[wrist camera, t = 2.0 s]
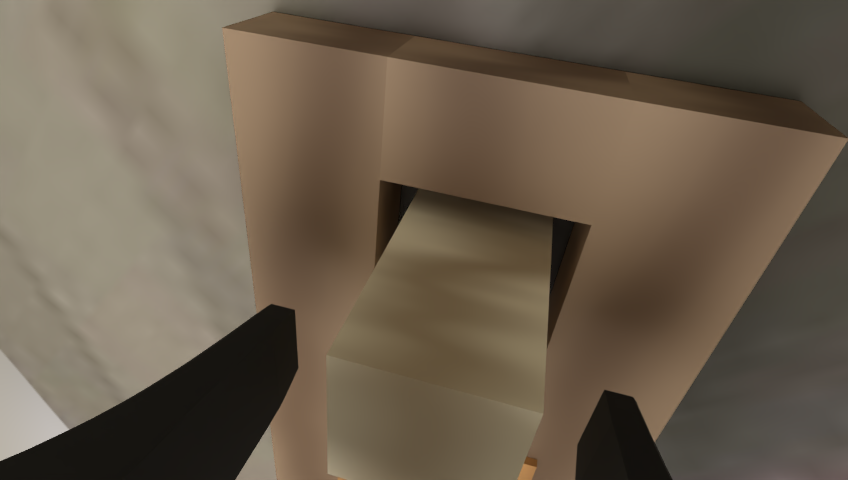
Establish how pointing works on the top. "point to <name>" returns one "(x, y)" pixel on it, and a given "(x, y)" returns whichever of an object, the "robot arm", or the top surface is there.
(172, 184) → the top surface
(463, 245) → the peg
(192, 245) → the top surface
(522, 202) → the wooden peg tray
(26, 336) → the top surface
